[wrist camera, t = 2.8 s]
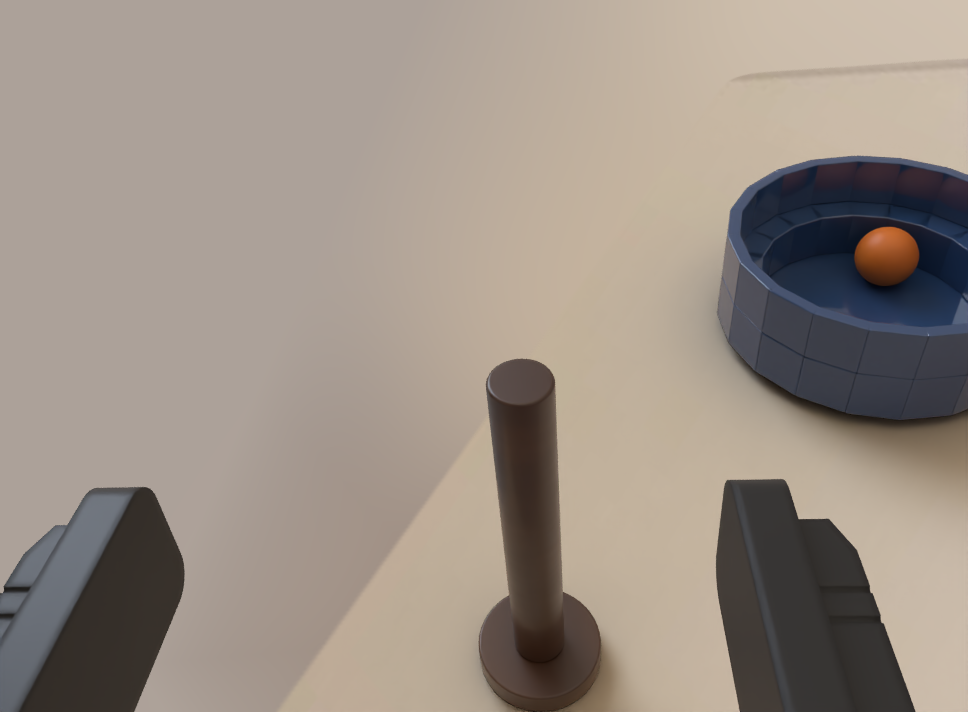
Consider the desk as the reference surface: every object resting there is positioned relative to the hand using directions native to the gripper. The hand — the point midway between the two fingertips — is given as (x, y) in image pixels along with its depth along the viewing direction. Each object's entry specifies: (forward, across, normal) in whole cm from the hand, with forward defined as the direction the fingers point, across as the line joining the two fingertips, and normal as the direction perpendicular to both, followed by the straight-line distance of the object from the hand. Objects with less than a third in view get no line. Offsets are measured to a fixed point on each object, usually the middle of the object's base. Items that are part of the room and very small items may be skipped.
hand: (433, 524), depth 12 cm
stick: (+11, -1, +19) cm, 22 cm away
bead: (+31, -18, +15) cm, 39 cm away
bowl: (+29, -17, +17) cm, 37 cm away
